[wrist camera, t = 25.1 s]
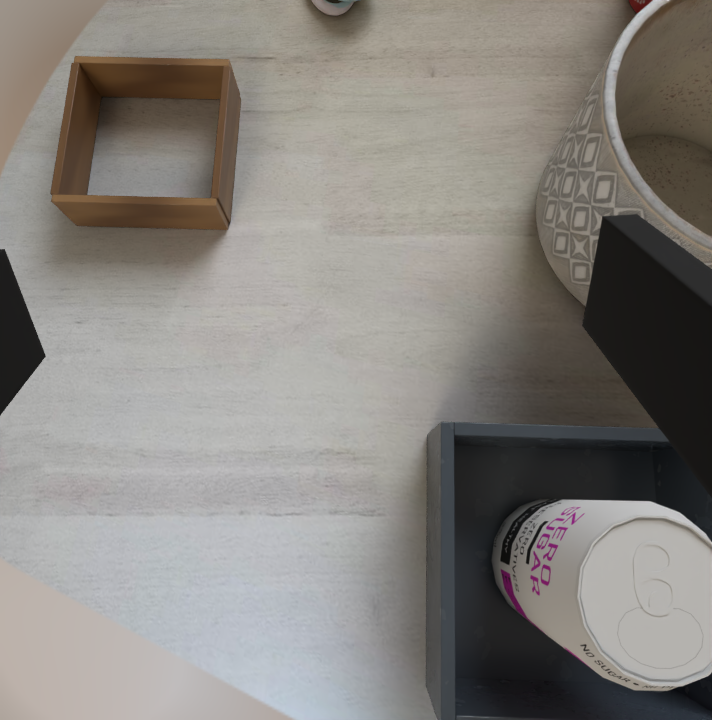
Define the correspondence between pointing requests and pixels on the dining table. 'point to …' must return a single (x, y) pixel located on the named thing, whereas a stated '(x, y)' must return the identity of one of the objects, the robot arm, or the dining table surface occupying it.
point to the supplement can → (613, 586)
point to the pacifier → (333, 6)
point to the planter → (636, 144)
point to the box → (144, 81)
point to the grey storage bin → (477, 581)
